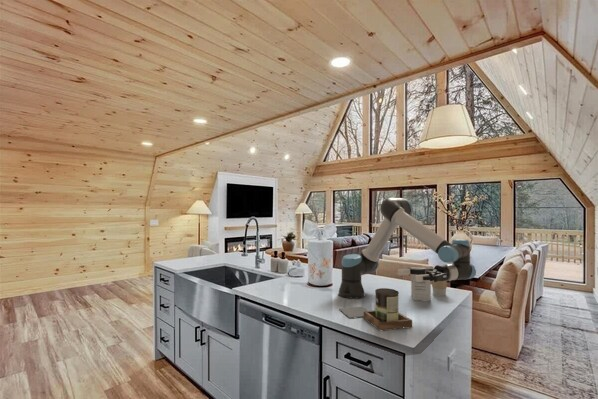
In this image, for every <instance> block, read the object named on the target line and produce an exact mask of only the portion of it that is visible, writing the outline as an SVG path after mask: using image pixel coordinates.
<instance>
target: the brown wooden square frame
mask: <svg viewBox="0 0 598 399" xmlns="http://www.w3.org/2000/svg"><path fill="white" fill-rule="evenodd" d="M375 316H376V309H375V310H368V311H364V317H363V319H364V318H365V319H364V320H366V321H367V320H368V321H369V324H371V323H372V324H373V325H372V324H371V325H372V326H374V325H375V326H376V327H377V328H376V327H375V326H374V327H375V328H376V329H378V330H379V329H380V330H383V331H386V330H385V329H392V330H395V329H394V328H401V329H404V328H403V327H409V328H413V319H411V318H409V317H407V316H406V315H404V314H403V313H401V312H399V311H398V321H389V322H381V321H379V320H378V319H376V318H375ZM368 321H367V322H368ZM380 330H379V331H380Z"/></svg>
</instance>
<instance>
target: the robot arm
mask: <svg viewBox="0 0 598 399" xmlns="http://www.w3.org/2000/svg"><path fill="white" fill-rule="evenodd" d="M379 207H380V208H379V210H380V214H381V215H382V217H383V220H382V221H381V223H380V225H379V227H378V228H377V230H376V232H375V234H374V235H373V237H372V239H371V240H370V242H369V243H368V245H367V247H366V248H363V249H362V250H361V252H360V254H358V253H351V254H345V255H344V256H342V258H341V283H340V286H339V289H338V295H339V296H340V297H342V298H346V299H361V298H364V297H365V289H364V285H363V283H362V276H364V275H368V274H373V273H374V272H376V271H377V270H378V268H379V265H380V264H379V261H380V255H381V253H382V252H383V250H384V248H385V247H386V245H387V244H388V242H389V240H390V239H391V237H392V236H393V234H394V232H395V230H396V229H397V227H400V228H402V229H403V230H404V231H406V232H407V233H408V234H409V235H411V236H412V237H414V238H415V239H417V241H419V242H421V244H423V245H424V246H426V247H427V248H429V249H430V250H432V251H433V252H434V253H435V254H437V256H438V257H439V260H441V262H443V263H447V264H437V265H435V266H434V267H433V268H428V267H413V268H411V267H407V268H400V269H397V276H411V274H416V275H415V281H416V282H420V281H429V280H430V281H431V282H432V281H433V280H434V282H437V281H447V282H451V281H459V280H470V279H473V278H475V277H476V274H477V270H476V267H475V265H473V263H471V245H470V240H468V239H463V238H462V239H461V238H456V239H455V238H454V239H452V242H451V243H450V242H449V241H448V240H446V239H445V238H443V237H442V236H441V235H439V234H437V233H436V232H434V230H432V229H431V228H429V227H427V226H426V225H424V223H421V222H420V221H419V220H417V219H416V218H414V217H413V216H412V214H413V211H414V208H413V205H412V202H411V201H410V200H409V199H407V198H402V197H387V198H386V199H384V200H382V202H381V204H380V206H379ZM425 274H426V275H425Z"/></svg>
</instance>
